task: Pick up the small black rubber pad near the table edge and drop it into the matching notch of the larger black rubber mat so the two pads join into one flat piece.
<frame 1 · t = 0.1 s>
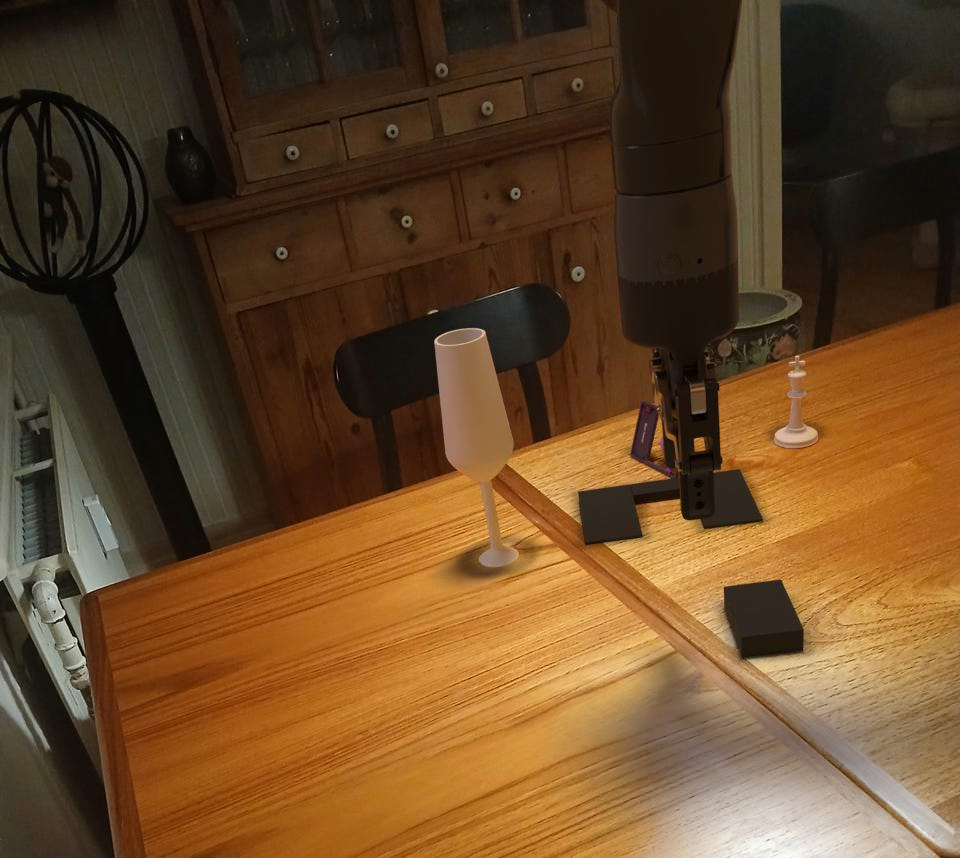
hand: (688, 489, 71), 18 cm above the table, tool pointing down, fingers open, 8 cm apart
champagne flute: (500, 565, 103), on the table
chess piece: (795, 441, 115), on the table
small pad: (762, 636, 85), on the table
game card: (668, 463, 116), on the table
notched mat: (665, 514, 106), on the table
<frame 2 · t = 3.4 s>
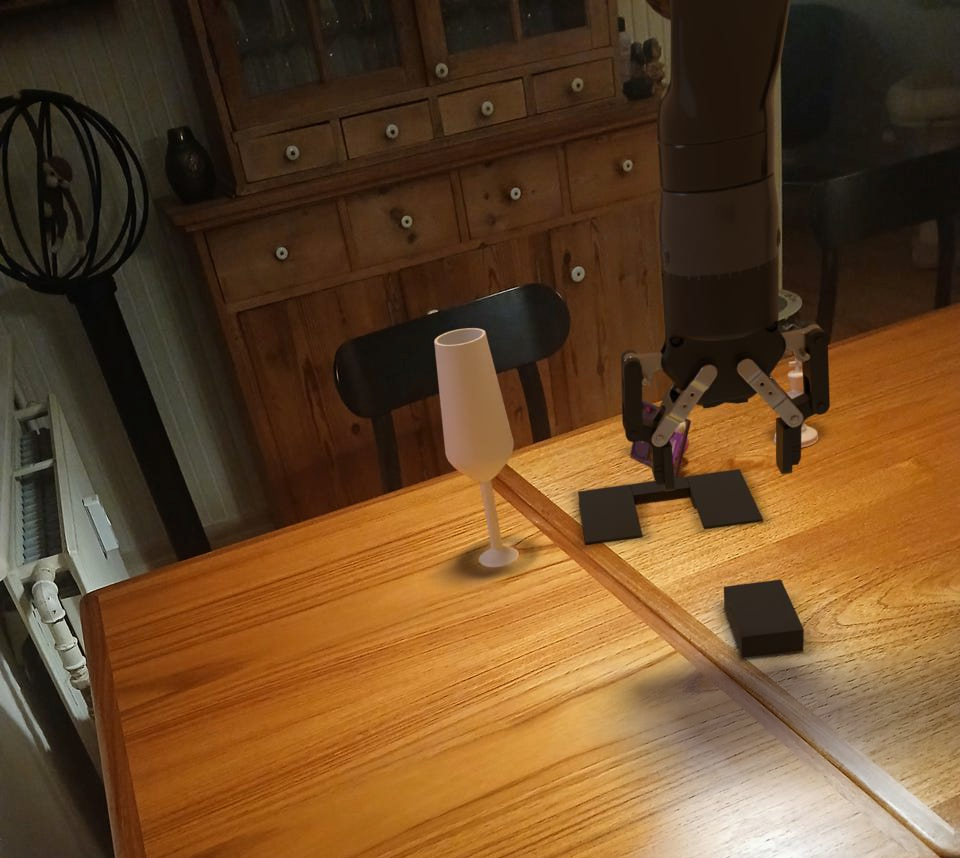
hand: (725, 478, 73), 17 cm above the table, tool pointing down, fingers open, 8 cm apart
nothing on the table moved.
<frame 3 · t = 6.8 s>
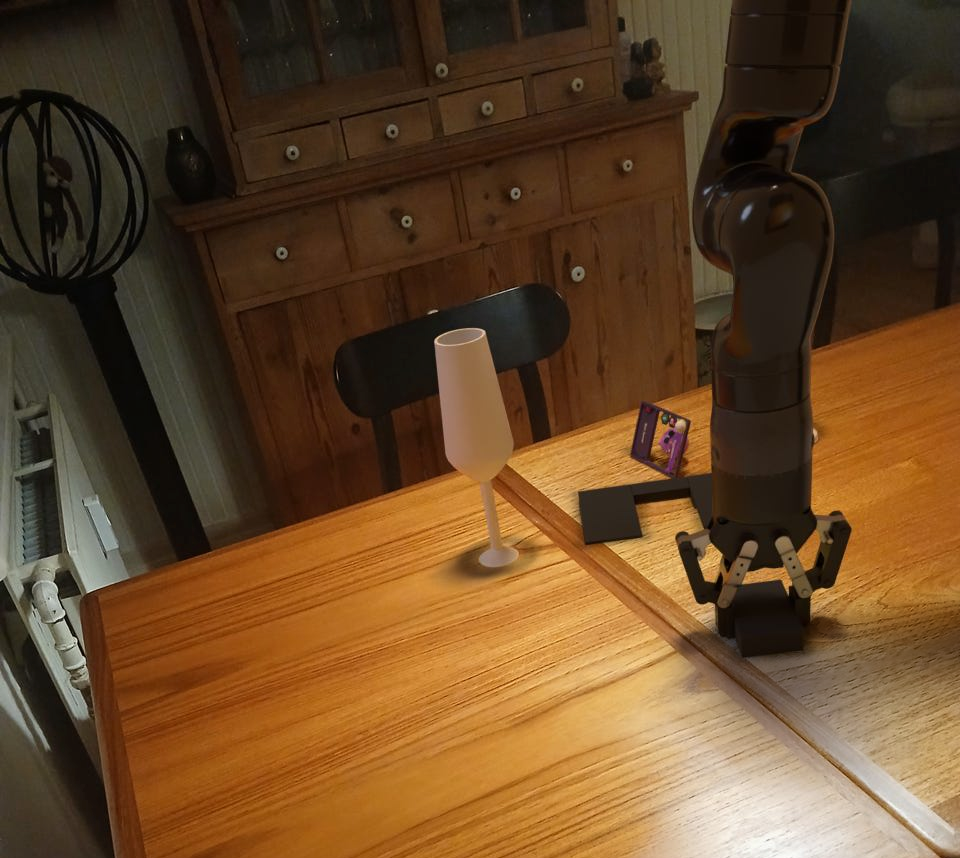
hand: (761, 631, 85), 0 cm above the table, tool pointing down, fingers closed on small pad, 5 cm apart
small pad: (762, 636, 85), on the table, touching gripper
everything else where it was.
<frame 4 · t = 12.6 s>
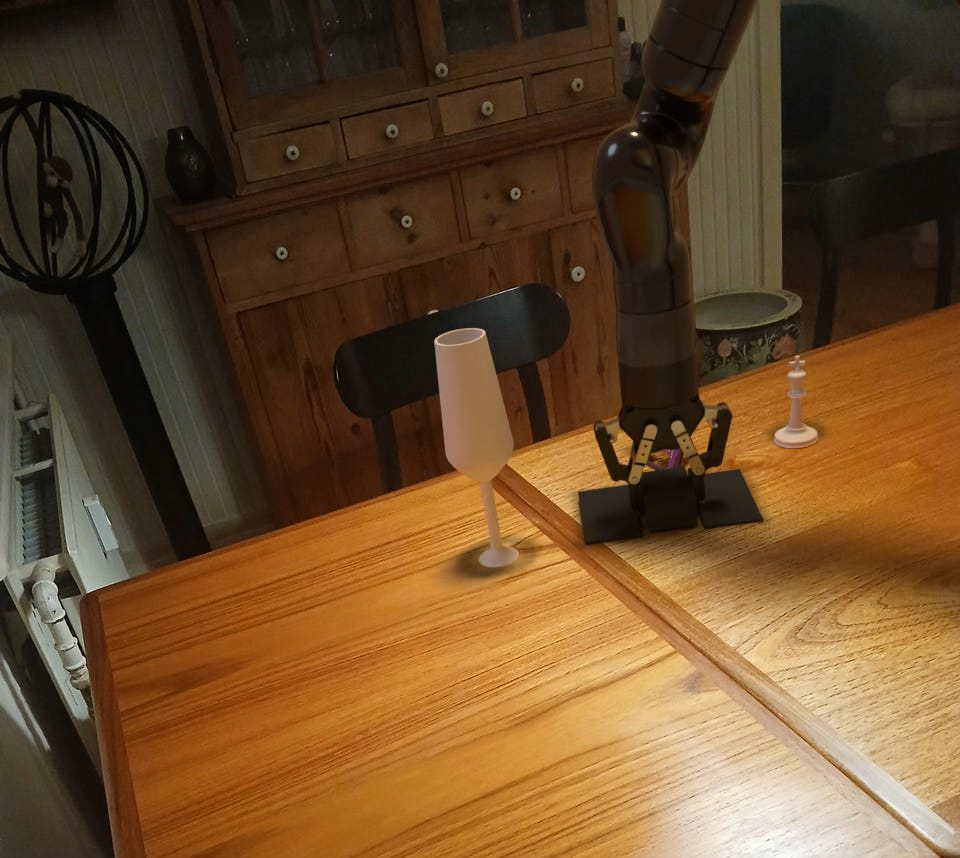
hand: (667, 507, 104), 2 cm above the table, tool pointing down, fingers closed on small pad, 5 cm apart
small pad: (667, 510, 104), point 1 cm above the table, touching gripper
everything else where it was.
when the fingers open (2 cm above the table, at t = 17.2 s): small pad drops 1 cm, resting in notched mat.
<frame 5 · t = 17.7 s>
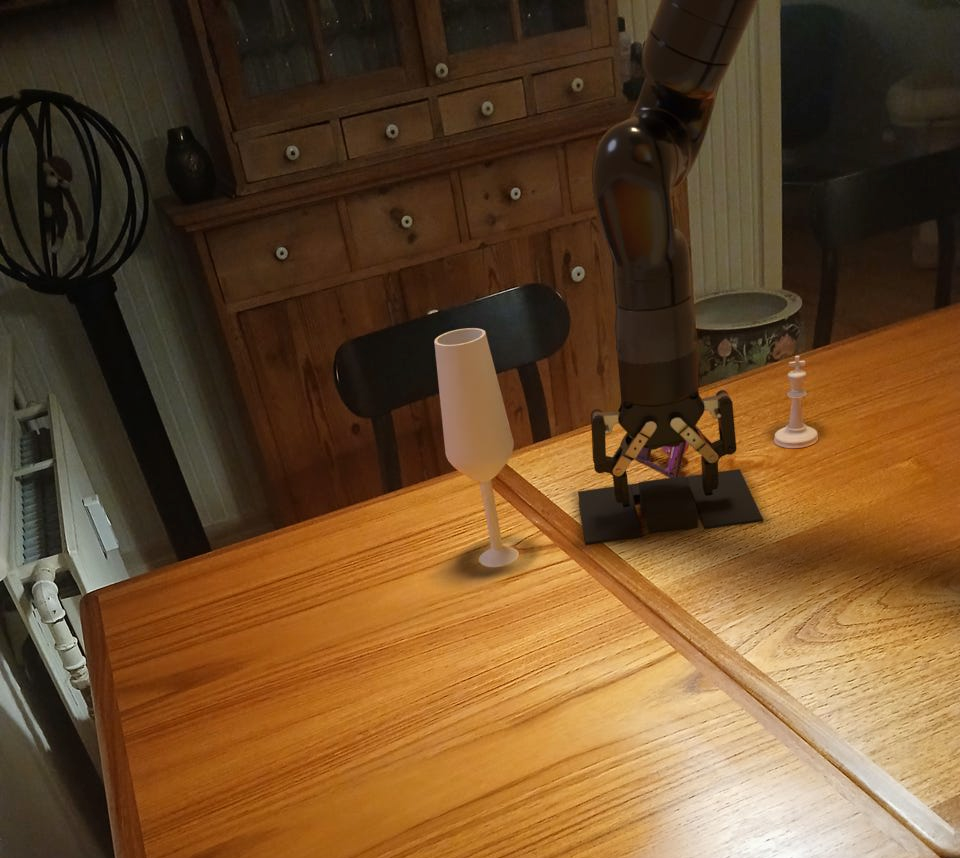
hand: (666, 498, 103), 3 cm above the table, tool pointing down, fingers open, 8 cm apart
small pad: (668, 520, 104), resting in notched mat
everything else where it was.
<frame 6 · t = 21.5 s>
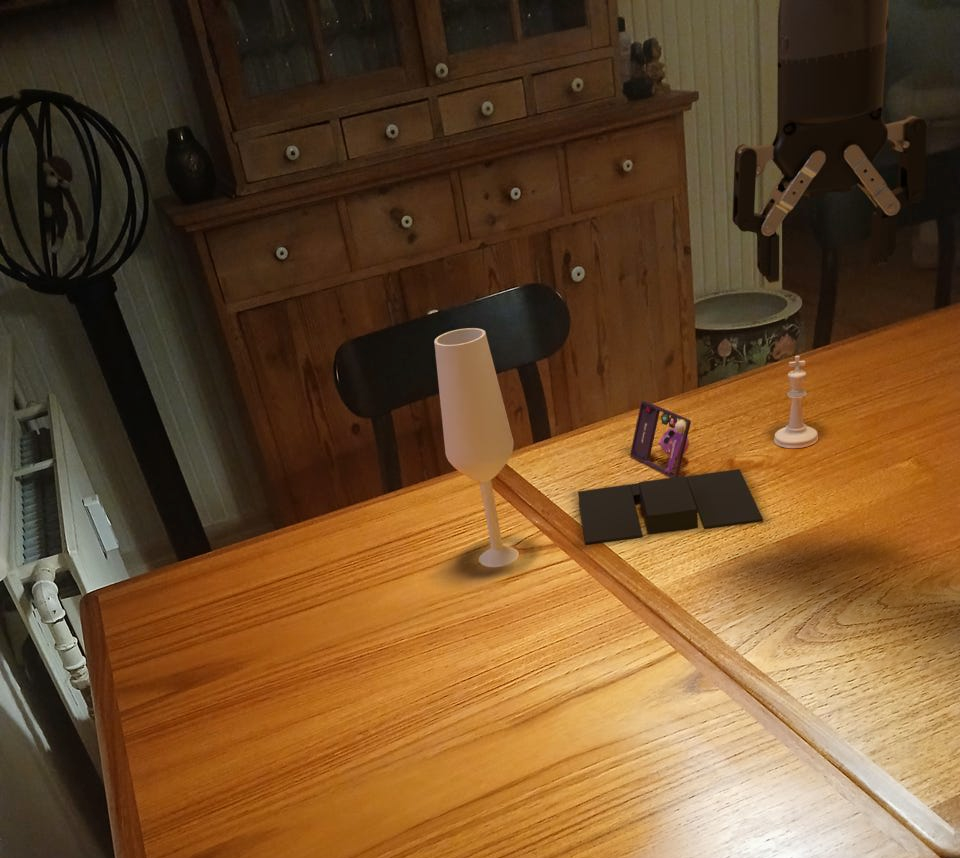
hand: (824, 271, 81), 26 cm above the table, tool pointing down, fingers open, 8 cm apart
nothing on the table moved.
at the end: small pad 0.1 cm from the target spot on the notched mat, point 0.0 cm above the notched mat's base; the gripper is holding nothing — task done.
